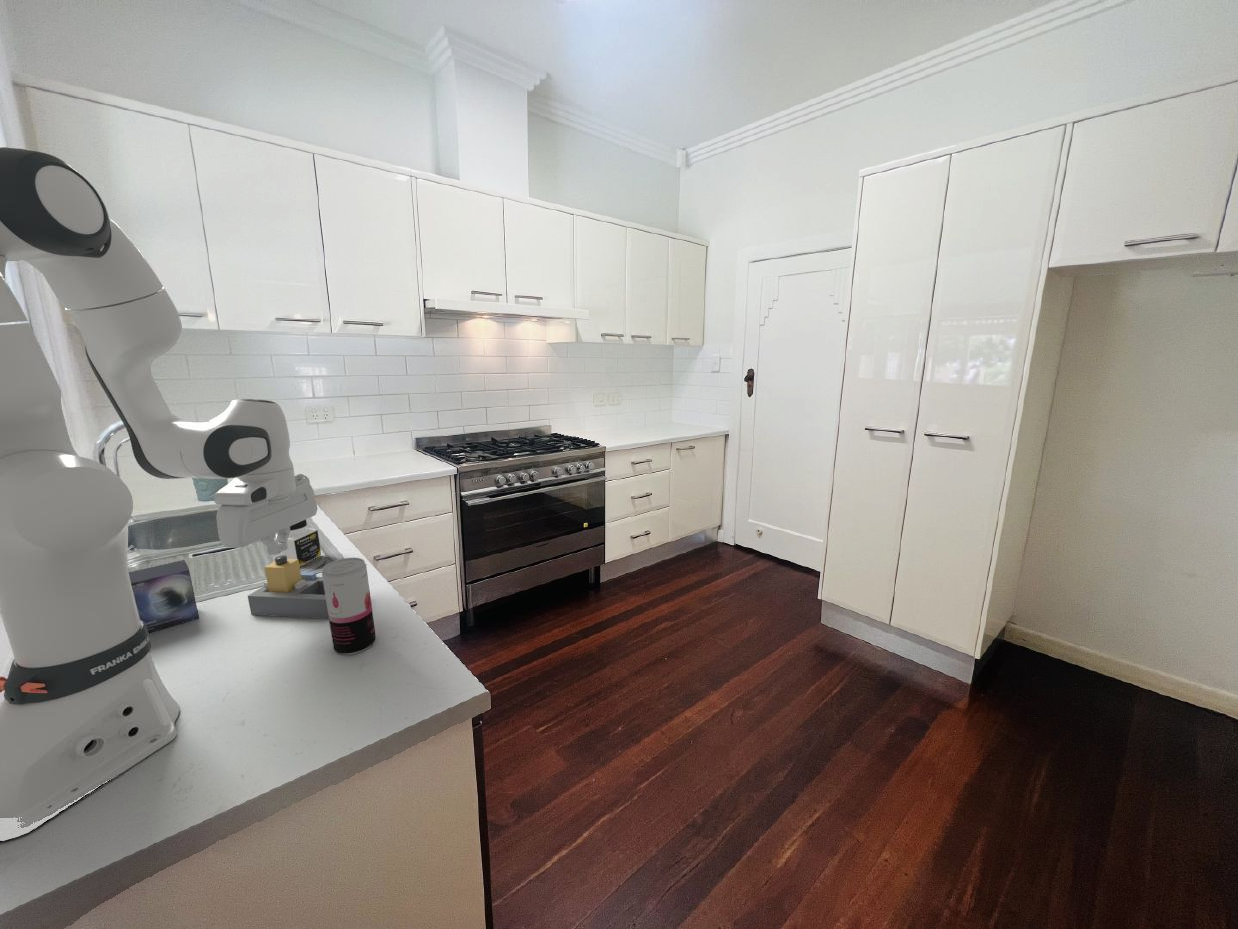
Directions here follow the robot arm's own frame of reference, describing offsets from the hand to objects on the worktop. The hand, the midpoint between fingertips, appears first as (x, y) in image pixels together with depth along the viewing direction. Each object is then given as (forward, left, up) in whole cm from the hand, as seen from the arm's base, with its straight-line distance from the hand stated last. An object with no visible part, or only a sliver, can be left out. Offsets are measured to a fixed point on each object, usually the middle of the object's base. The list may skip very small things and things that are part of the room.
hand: (278, 552), depth 98 cm
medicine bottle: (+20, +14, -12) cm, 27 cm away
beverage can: (-12, -22, -12) cm, 28 cm away
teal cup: (+66, +82, -12) cm, 106 cm away
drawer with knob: (0, 0, -12) cm, 11 cm away
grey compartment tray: (0, -4, -11) cm, 12 cm away
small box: (-9, +19, -12) cm, 24 cm away
